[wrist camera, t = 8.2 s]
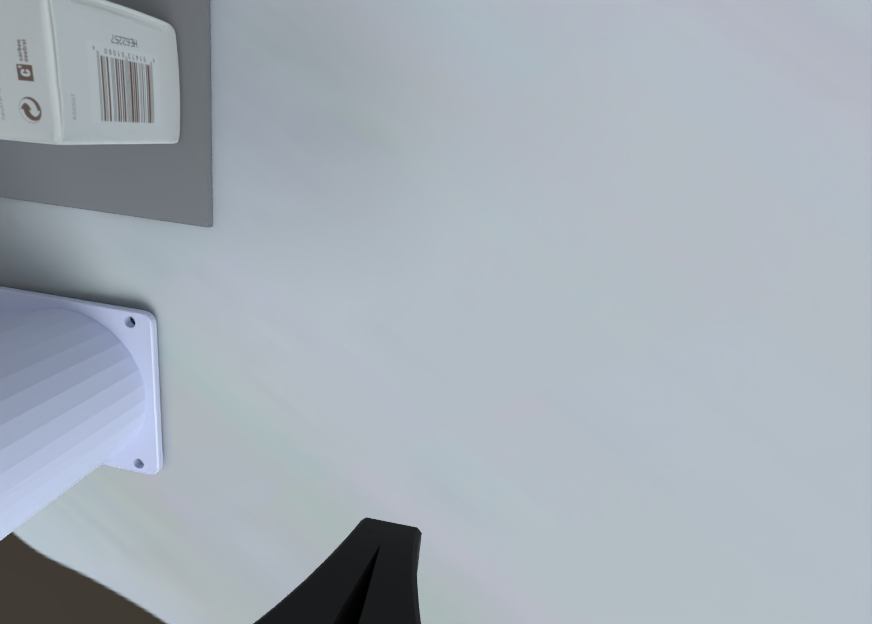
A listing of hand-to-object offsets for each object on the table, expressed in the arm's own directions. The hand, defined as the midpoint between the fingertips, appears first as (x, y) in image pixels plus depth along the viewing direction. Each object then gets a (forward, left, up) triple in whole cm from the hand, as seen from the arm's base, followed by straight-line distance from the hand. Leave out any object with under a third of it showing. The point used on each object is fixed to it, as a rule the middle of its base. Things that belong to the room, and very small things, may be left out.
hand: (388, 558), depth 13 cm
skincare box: (-11, +10, -7) cm, 16 cm away
